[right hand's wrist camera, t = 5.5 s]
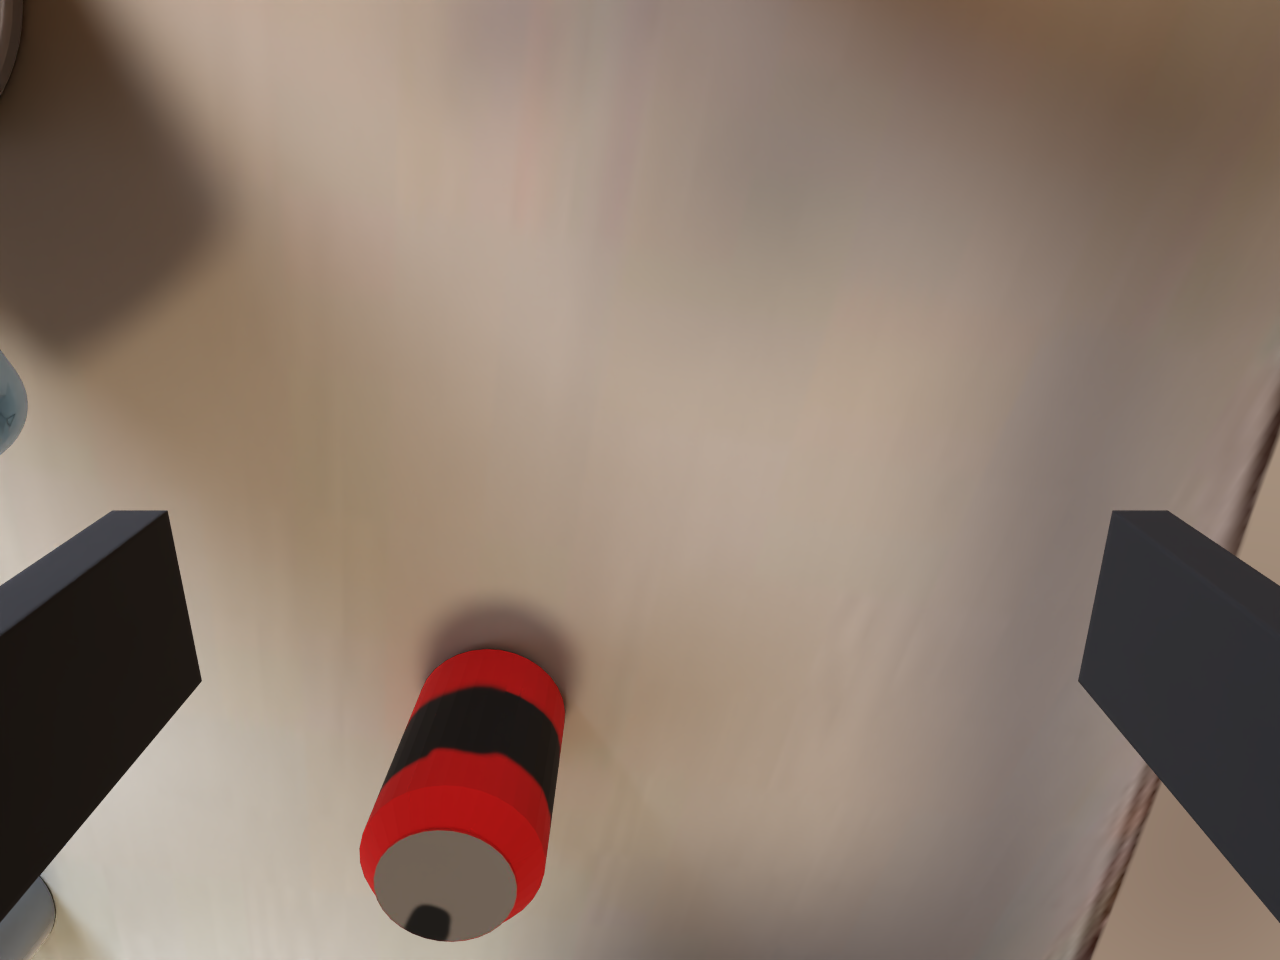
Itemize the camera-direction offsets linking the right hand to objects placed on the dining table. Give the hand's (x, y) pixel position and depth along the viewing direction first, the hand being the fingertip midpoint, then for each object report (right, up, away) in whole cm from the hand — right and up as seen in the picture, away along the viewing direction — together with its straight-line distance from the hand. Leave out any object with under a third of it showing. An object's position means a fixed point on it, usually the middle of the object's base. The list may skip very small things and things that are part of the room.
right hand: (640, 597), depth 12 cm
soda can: (-8, -10, +34) cm, 36 cm away
